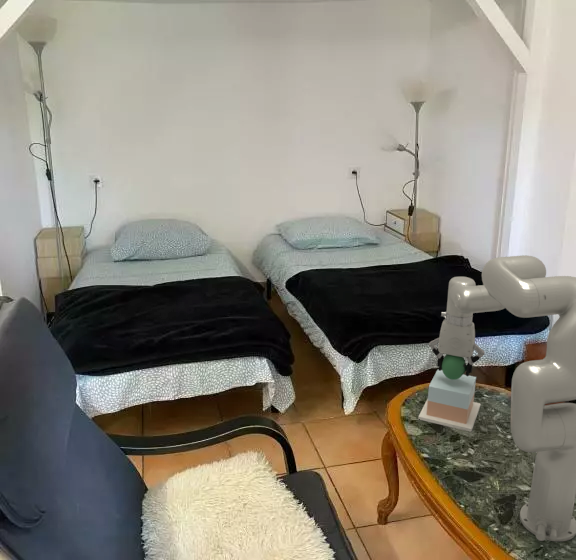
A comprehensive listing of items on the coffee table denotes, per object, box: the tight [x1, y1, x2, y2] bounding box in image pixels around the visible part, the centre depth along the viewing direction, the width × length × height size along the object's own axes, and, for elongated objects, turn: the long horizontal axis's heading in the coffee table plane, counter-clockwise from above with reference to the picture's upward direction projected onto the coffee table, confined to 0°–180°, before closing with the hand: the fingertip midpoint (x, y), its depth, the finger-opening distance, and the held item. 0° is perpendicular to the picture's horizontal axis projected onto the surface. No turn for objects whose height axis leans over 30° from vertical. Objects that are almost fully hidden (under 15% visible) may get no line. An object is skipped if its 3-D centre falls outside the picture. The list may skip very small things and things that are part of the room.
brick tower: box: [418, 368, 482, 433], centre depth 187 cm, size 16×16×11 cm
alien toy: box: [442, 354, 467, 380], centre depth 183 cm, size 7×8×10 cm
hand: (454, 371), depth 184 cm, fingers closed on alien toy, 7 cm apart
